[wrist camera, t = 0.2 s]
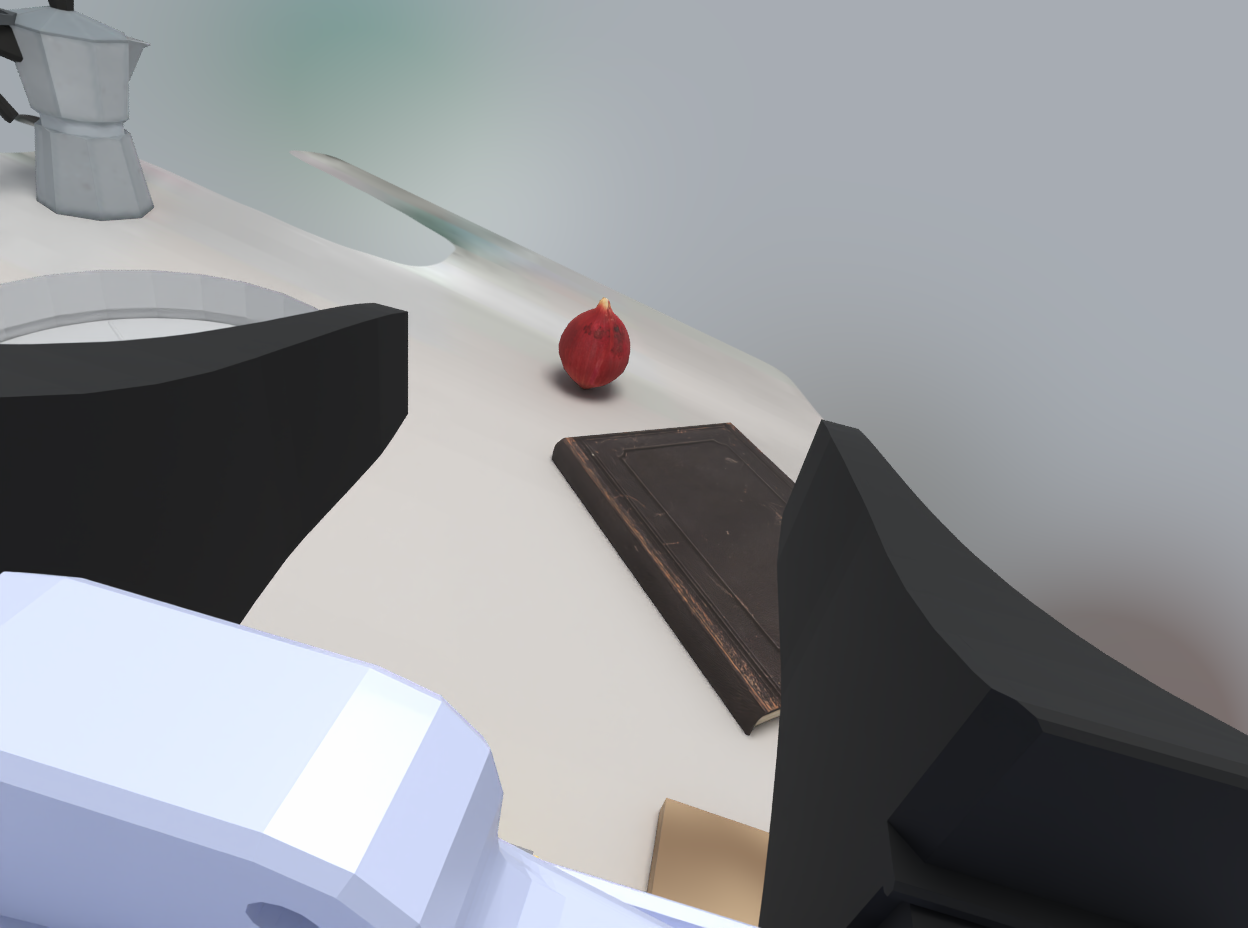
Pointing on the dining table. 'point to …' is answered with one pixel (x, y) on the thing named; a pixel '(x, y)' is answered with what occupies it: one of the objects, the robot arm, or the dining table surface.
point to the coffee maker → (77, 109)
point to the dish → (132, 306)
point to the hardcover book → (696, 544)
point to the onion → (595, 347)
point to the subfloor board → (709, 862)
